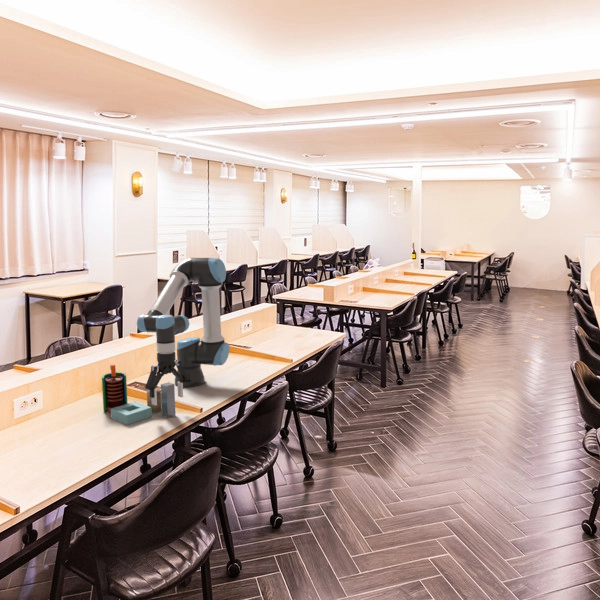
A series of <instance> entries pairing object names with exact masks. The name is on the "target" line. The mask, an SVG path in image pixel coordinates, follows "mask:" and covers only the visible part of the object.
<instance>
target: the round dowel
mask: <svg viewBox="0 0 600 600" xmlns="http://www.w3.org/2000/svg"><path fill="white" fill-rule="evenodd" d="M155 390H157V405H156V406H155V405H153V404H152V400H151V397H150V390H148V389H147V390H146V403H147V404H146V406H149V407H152V414H157V413H160V412H162V403H161V388H155Z"/></svg>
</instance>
